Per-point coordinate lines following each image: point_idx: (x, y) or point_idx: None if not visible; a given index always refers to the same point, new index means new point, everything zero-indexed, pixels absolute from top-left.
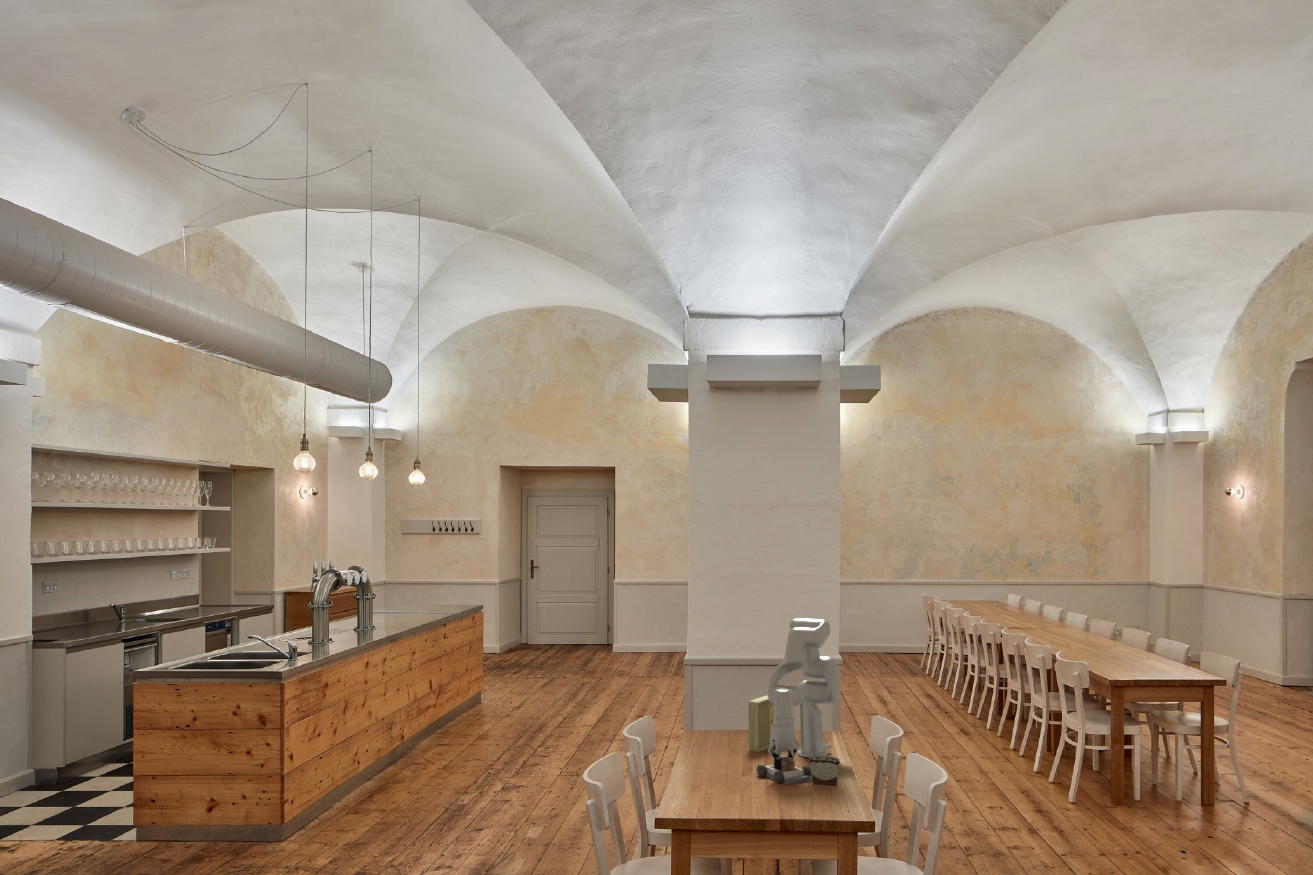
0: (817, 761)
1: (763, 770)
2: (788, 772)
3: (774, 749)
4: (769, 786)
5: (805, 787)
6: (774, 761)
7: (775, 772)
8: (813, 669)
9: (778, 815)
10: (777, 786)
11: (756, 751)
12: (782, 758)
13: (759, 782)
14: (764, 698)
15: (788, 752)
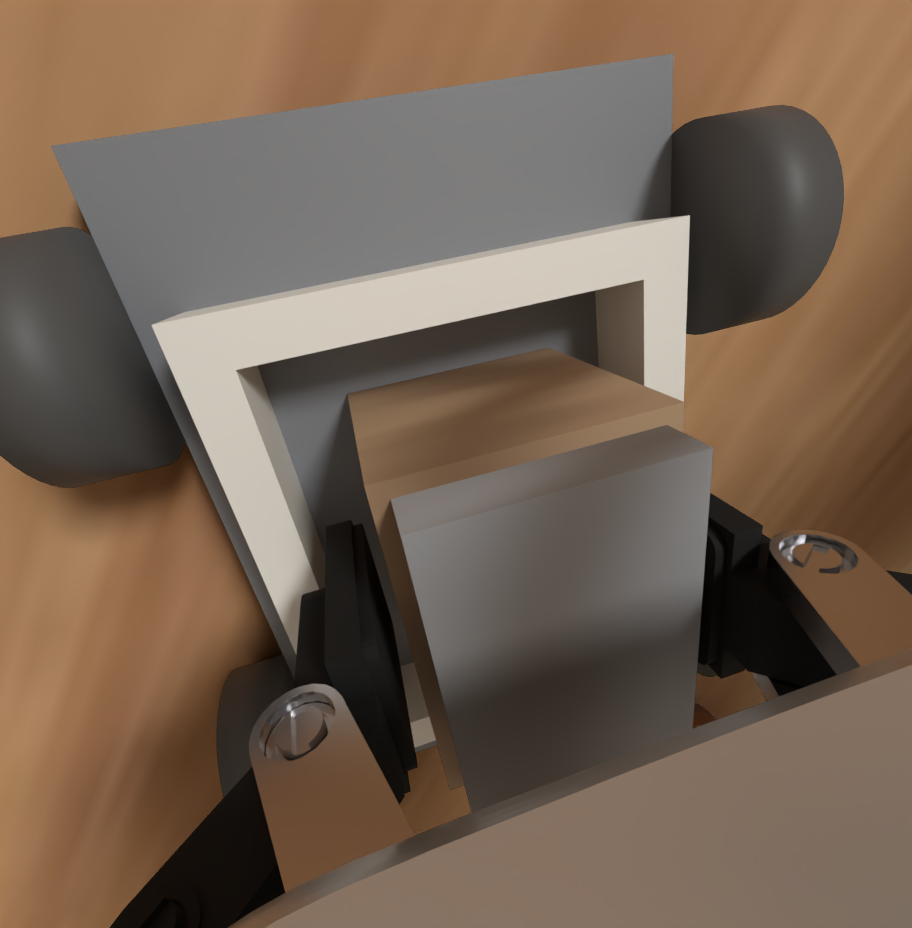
0: None
1: (89, 482)
2: (433, 736)
3: (365, 897)
4: (110, 786)
5: (466, 808)
6: (297, 666)
7: (225, 770)
8: None
9: None
10: (210, 786)
11: None
12: (490, 738)
13: (2, 642)
14: None
15: (819, 633)
